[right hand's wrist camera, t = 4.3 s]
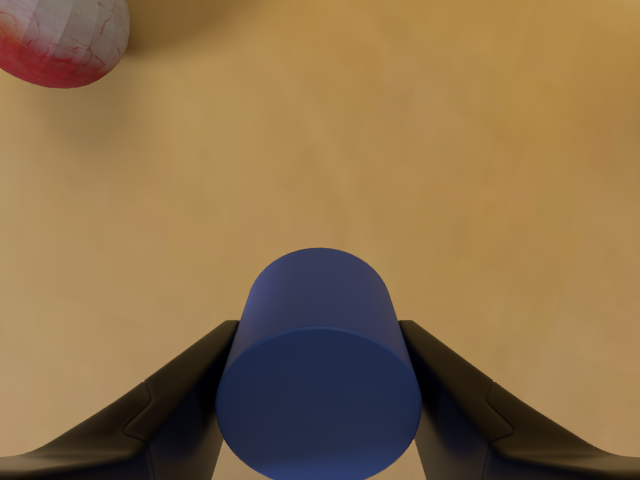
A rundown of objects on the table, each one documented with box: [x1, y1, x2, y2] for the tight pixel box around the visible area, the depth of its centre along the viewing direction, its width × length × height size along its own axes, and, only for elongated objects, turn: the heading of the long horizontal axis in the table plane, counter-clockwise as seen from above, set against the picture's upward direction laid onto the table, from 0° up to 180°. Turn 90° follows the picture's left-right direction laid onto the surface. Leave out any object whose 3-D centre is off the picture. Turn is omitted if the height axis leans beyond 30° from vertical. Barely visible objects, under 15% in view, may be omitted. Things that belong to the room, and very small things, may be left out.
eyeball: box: [0, 0, 130, 88], centre depth 16 cm, size 6×6×6 cm
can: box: [215, 248, 422, 480], centre depth 11 cm, size 4×4×4 cm
